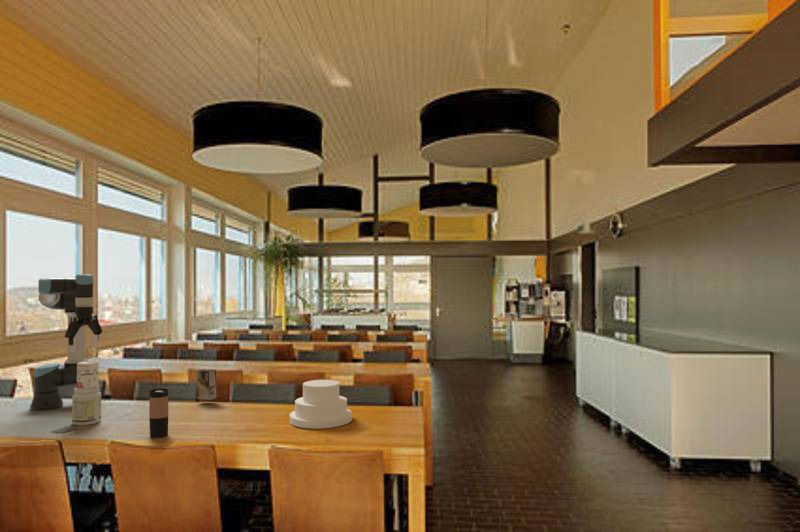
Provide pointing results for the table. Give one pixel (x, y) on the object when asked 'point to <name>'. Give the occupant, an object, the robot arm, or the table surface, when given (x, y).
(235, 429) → the table surface
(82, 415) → the supplement tub
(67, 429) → the charcoal rubber mat
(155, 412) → the travel mug
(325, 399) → the cake
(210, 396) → the coffee box
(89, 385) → the ink box
